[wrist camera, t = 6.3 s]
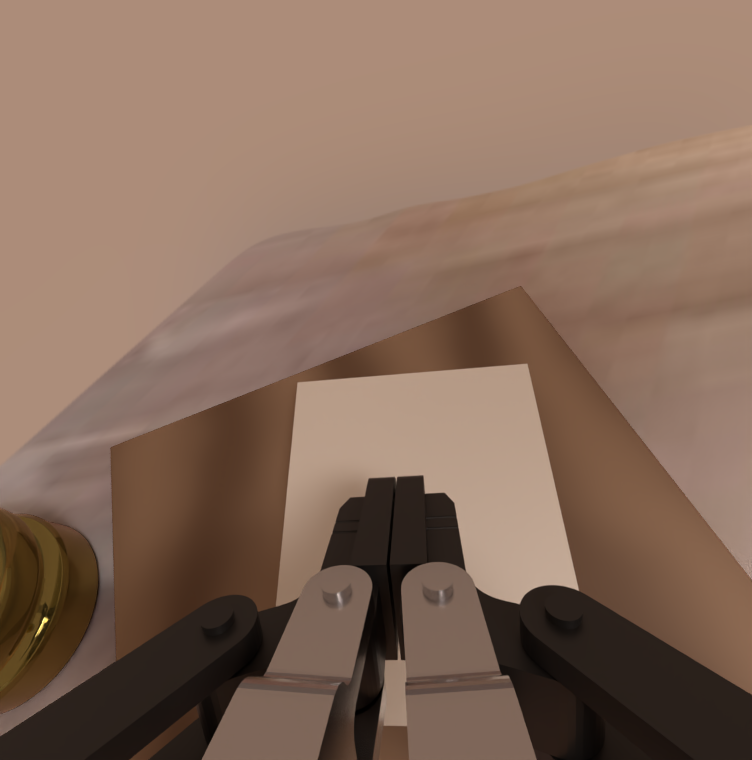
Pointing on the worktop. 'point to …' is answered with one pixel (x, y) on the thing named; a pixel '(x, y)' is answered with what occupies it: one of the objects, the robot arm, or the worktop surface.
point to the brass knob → (40, 602)
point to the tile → (429, 477)
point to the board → (401, 356)
